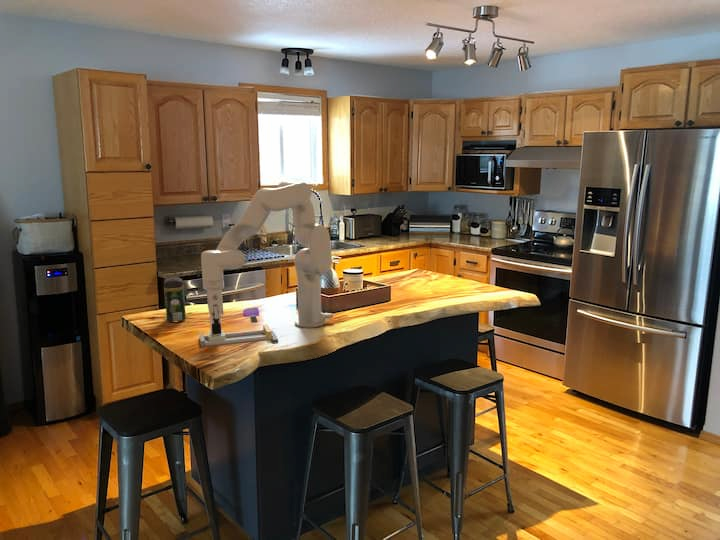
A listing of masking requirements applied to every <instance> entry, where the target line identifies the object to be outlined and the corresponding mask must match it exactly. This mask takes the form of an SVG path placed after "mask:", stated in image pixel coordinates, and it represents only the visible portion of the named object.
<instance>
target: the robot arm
mask: <svg viewBox="0 0 720 540" xmlns="http://www.w3.org/2000/svg"><path fill="white" fill-rule="evenodd" d="M311 188H312V187H311V186H309V184H308V183H306V182H304V181H300V180H299V181H297V180H296V181H295V180H284V181H281V182H280V183H278V185H277V187H275V188H272V187H262V188H259V189H258V190H257V191H256V193H254V195H253V197H252V198H251V200H250V201H249V204H248V206H247V207H246V209H245V210H244V212H243V214H242V215H241V217H240V218H239V220H238V221H237V222H236V223H235V224H234V225H233V226H232V227H231V228H230V229H229V230H228V231H226V233H225V234H224V235H223V237H222V238H221V240H220V242H219V243H218V245H217V247H216V248H215V249H210V250H209V249H208V250H205V251H202V252H201V255H200V260H201V261H200V262H201V275H202V277H201V278H202V289H203V290H206V298H207V299H206V300H207V307H208V312H209V317H210V316H212V334H221V327H222V322H221V323H220V315H221V316H224V314H225V313H224V304H223V303H224V302H223V291H222V290H223V289H224V288H225V281H224V270H238V269H240V268H241V267H243V266H244V265H245V263H246V256H245V255H246V254H244V252H243V251H241V250H240V249H238V248H239V247H240V246H241V244H242V243H243V242H244V241H245V240H247V239H248V238H250V237H253V236H255V235H256V234H258V233H259V232H260V231H261V230H262V228H263V227H264V224H265V223H266V221H267V219H268V218H269V216H270V215H271V213H272V212H274V213H275V212H281V211H285V210H286V211H287V210H289V209H291V211H292V214H293V215H292V216H293V223H294V233H295V234H294V236H295V240H296V242H297V243H298V244H299V245H302V246H305V248H302V249H299V250H298V251H296V254H295V256H294V267H295V272H296V280H297V281H296V283H297V311H298V313H297V314H298V317H297V318H298V319H296V320H294V325H295V326H297V327H299V328H305V329H307V328H308V329H311V328H319V327H323V326H324V325H325V324H326V319H333V318H334V315H333V313H328V312H325V313H324V312H322V292H321V291H322V289H321V288H322V287H321V286H322V285H321V277H320V276H324V275H326V274H328V273H329V271H330V269H331V268H332V264H333V261H332V260H333V258H332V245H331V236H330V232H329V231H328V228H326V226H324V225H323V224H320V223H317V222H316V221H317V220H316V215H315V208H314V205H313V202H312V201H311V196H312V189H311ZM307 247H308V248H307ZM214 317H215V318H214ZM318 326H319V327H318Z"/></svg>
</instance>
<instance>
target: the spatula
mask: <svg viewBox="0 0 720 540" xmlns="http://www.w3.org/2000/svg"><path fill="white" fill-rule="evenodd" d="M242 312H243V315H244V317H246V318H249V317H250V320H251V323H254V324H257V323H258V322H259V321H258V319H257V317H259V316H260V311H259V308H258V307H249V308H244V309H243V311H242Z"/></svg>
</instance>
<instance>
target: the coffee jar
mask: <svg viewBox="0 0 720 540" xmlns="http://www.w3.org/2000/svg"><path fill="white" fill-rule="evenodd" d="M163 290H164V291H163V292H164V304H165V311H166V313H165V316H166V320H167V322H168V321H179V322H183V321H182V320H184V321H185V320H186V319H187V318H186V317H187V316H186V305H185V304H186V303H185V292H184V280H183V279H182V278H181V277H179V276H169V277H168V278H166V279H165V280H164V281H163Z"/></svg>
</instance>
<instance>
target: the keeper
mask: <svg viewBox="0 0 720 540" xmlns="http://www.w3.org/2000/svg"><path fill="white" fill-rule="evenodd" d="M214 318H215V317H214ZM220 323H221V324H222V315H220ZM209 326H210V328H209V329H210V332H207V335H208V341H217V340H226V338H225V333H226V332H225V331H224V330H222V329H223V328H222V326H221V334H212V316H210V315H209Z"/></svg>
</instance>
